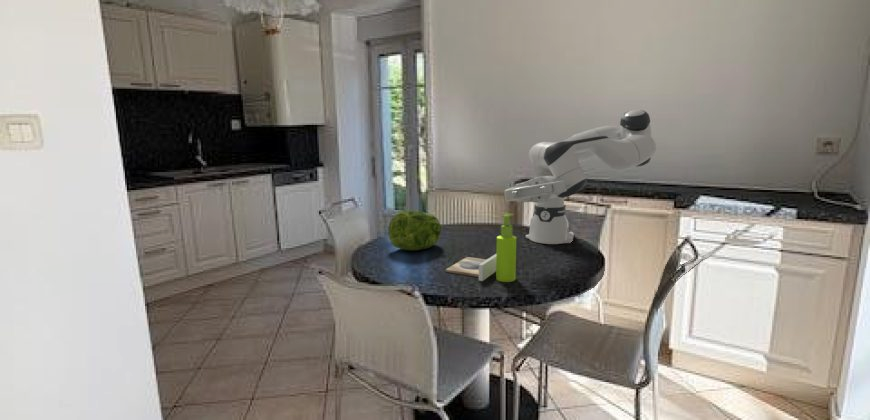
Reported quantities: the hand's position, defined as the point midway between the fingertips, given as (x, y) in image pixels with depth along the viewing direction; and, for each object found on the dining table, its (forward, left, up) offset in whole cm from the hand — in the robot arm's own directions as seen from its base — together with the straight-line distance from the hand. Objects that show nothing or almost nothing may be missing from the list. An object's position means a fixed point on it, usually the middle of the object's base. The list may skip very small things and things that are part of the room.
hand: (528, 192), depth 149 cm
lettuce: (-6, -45, -26) cm, 52 cm away
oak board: (+6, -16, -25) cm, 31 cm away
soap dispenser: (+11, -3, -26) cm, 28 cm away
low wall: (+7, -9, -25) cm, 28 cm away
